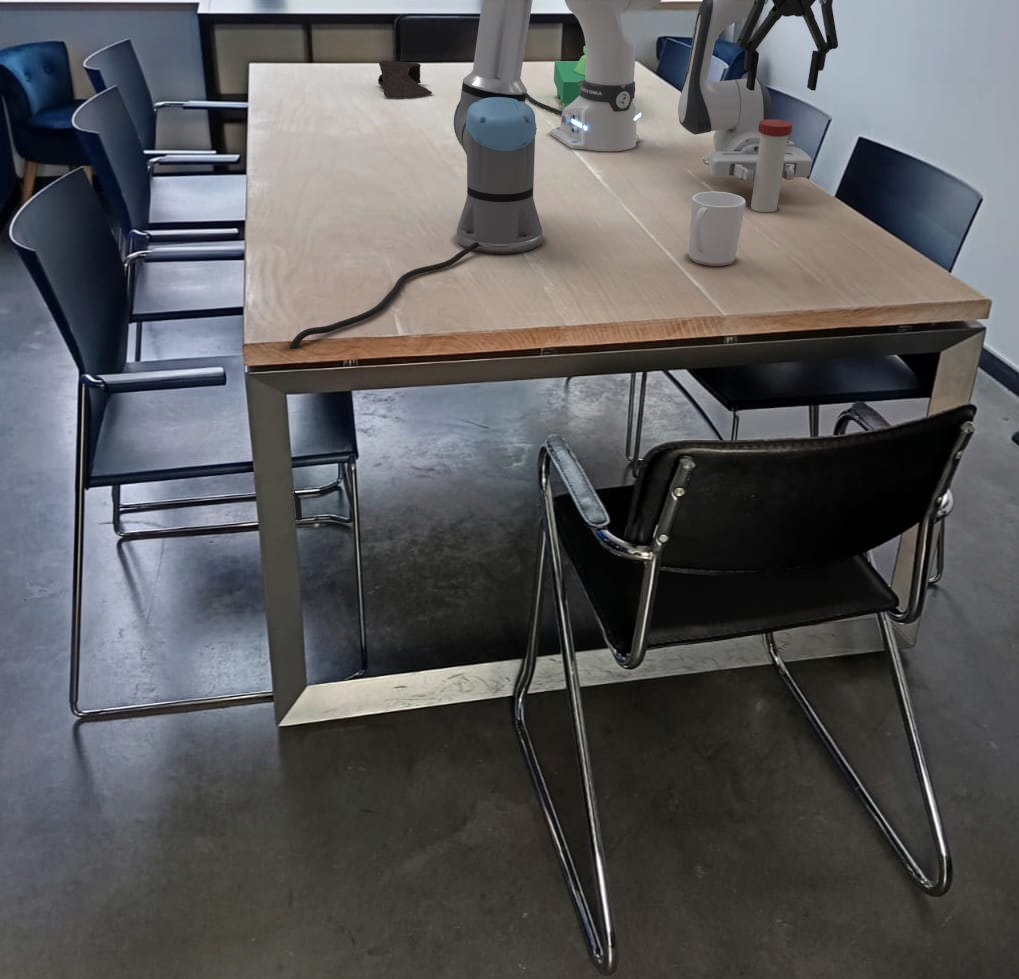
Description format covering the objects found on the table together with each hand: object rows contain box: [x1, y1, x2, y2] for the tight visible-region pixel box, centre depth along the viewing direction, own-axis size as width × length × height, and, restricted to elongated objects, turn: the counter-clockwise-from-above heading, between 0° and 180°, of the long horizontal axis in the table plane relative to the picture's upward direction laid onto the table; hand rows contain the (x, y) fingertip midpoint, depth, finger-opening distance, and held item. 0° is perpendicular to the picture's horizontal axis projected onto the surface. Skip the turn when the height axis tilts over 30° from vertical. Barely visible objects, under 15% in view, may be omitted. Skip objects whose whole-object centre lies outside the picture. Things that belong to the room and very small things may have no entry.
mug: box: [687, 191, 747, 267], centre depth 186 cm, size 11×9×10 cm
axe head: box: [377, 59, 433, 99], centre depth 299 cm, size 18×8×15 cm
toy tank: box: [553, 45, 586, 111], centre depth 289 cm, size 18×12×35 cm
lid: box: [758, 118, 793, 136], centre depth 207 cm, size 6×6×2 cm
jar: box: [750, 133, 789, 213], centre depth 211 cm, size 5×5×16 cm
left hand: (780, 89), depth 204 cm, fingers open, 11 cm apart
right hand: (769, 175), depth 211 cm, fingers open, 7 cm apart
